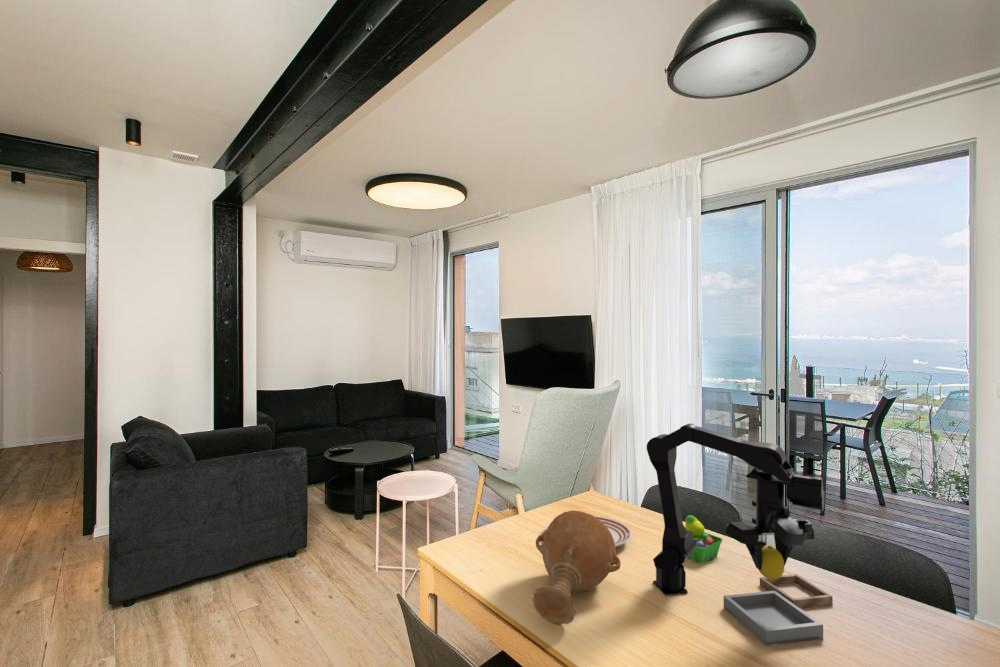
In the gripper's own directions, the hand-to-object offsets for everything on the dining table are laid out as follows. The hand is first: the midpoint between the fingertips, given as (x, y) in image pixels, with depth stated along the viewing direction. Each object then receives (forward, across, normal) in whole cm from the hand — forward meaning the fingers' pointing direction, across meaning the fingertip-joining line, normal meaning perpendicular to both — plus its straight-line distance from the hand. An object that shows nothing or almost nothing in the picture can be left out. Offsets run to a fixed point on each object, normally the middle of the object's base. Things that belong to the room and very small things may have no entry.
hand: (769, 567), depth 107 cm
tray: (+12, 0, 0) cm, 12 cm away
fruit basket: (+13, +4, +33) cm, 36 cm away
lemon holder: (+12, +15, +9) cm, 22 cm away
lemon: (+3, 0, 0) cm, 3 cm away
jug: (+13, -42, +19) cm, 48 cm away
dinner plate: (+13, -25, +50) cm, 58 cm away
